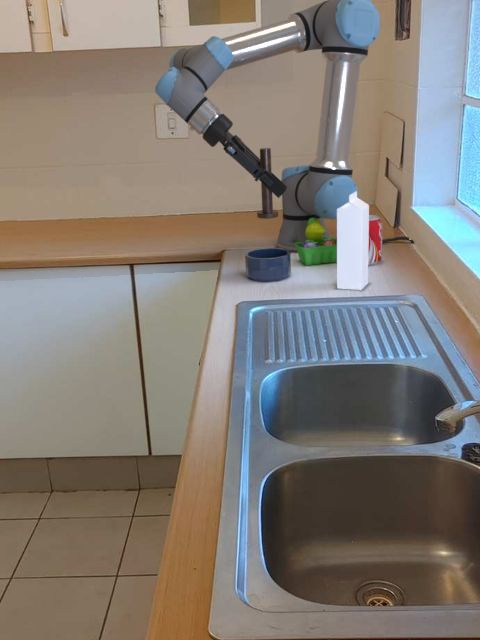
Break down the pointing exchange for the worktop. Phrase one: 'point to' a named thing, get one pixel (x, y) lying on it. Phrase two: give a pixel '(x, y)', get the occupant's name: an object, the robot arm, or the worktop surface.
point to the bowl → (268, 264)
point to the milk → (352, 244)
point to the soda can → (375, 240)
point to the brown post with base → (266, 193)
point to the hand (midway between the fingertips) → (282, 192)
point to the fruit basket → (316, 245)
